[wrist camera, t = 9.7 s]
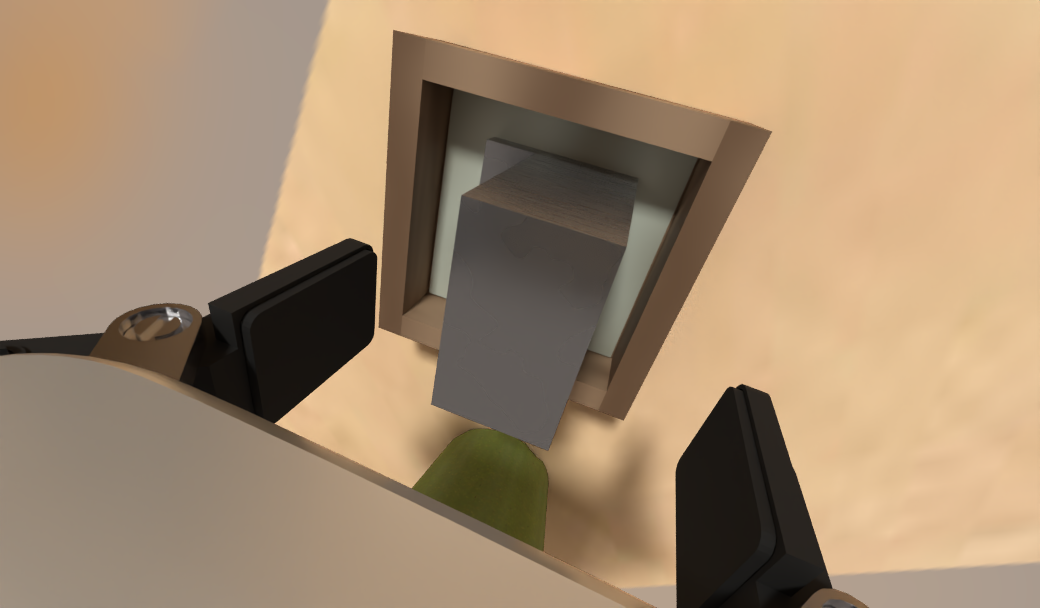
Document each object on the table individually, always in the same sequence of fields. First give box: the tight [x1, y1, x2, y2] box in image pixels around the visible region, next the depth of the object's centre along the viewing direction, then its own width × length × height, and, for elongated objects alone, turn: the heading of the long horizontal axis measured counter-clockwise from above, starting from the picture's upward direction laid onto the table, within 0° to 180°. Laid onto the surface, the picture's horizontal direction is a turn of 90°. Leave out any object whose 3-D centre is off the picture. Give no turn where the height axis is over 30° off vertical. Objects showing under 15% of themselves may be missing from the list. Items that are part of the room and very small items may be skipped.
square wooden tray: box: [379, 30, 772, 420], centre depth 17 cm, size 12×12×4 cm
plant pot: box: [412, 429, 548, 552], centre depth 23 cm, size 12×12×11 cm
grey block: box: [431, 137, 639, 450], centre depth 15 cm, size 6×7×8 cm
